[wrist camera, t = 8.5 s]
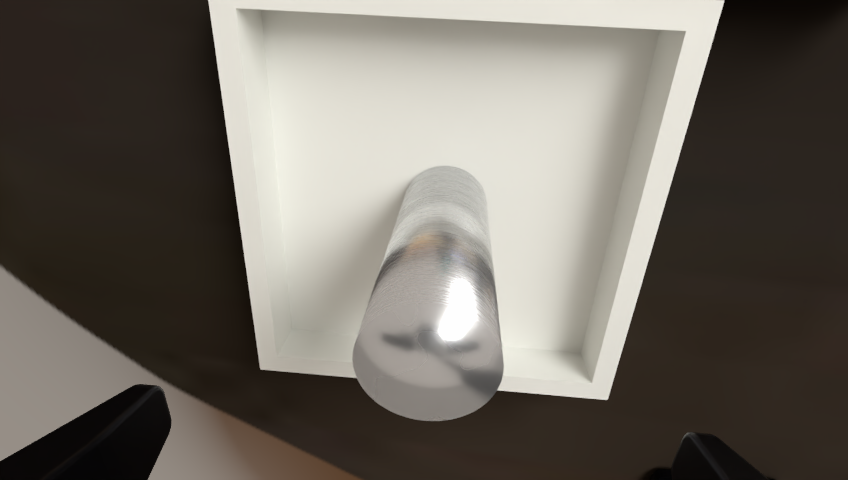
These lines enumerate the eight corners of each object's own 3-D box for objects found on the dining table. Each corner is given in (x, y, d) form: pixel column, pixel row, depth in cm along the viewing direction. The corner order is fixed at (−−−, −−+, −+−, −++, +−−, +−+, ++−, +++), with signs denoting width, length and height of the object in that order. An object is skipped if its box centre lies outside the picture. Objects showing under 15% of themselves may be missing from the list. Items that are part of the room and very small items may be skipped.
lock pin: (482, 245, 18) (494, 427, 10) (402, 239, 18) (353, 413, 10) (491, 168, 17) (513, 310, 9) (405, 162, 17) (351, 296, 9)
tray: (592, 359, 21) (607, 400, 19) (281, 333, 22) (260, 369, 20) (684, 3, 15) (724, 0, 13) (242, -18, 15) (204, -25, 13)
